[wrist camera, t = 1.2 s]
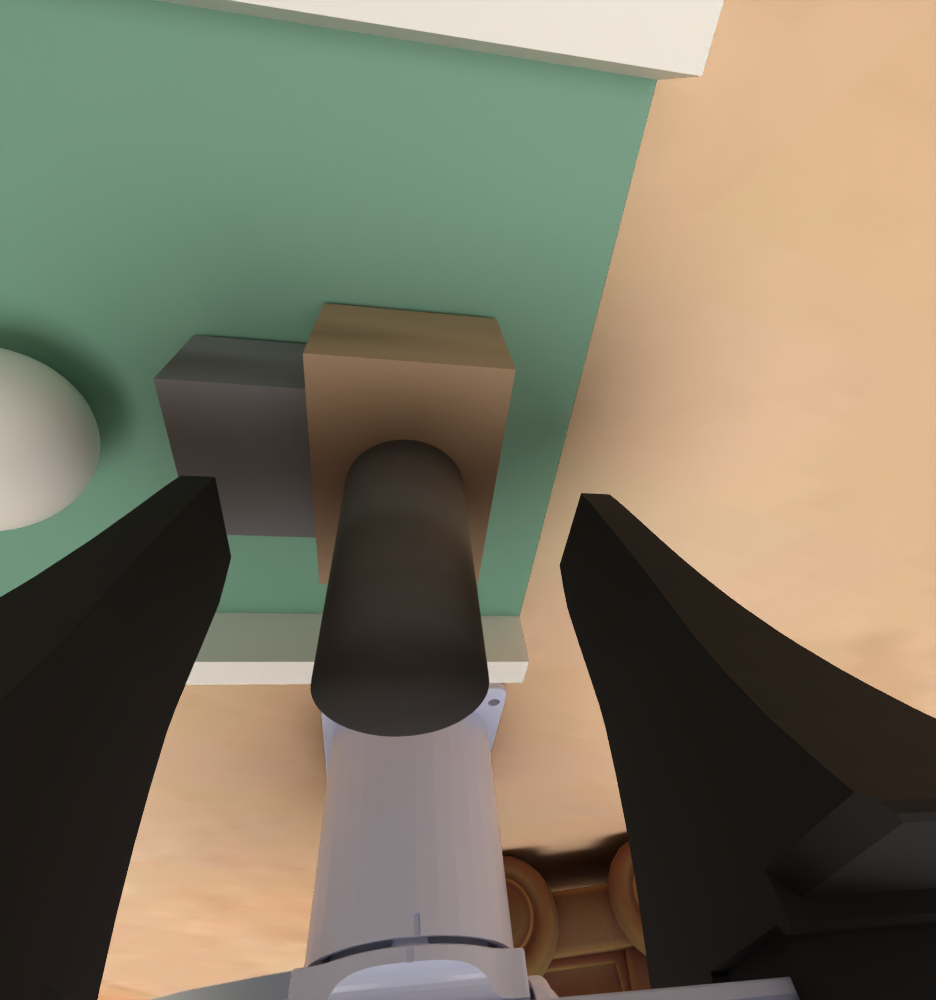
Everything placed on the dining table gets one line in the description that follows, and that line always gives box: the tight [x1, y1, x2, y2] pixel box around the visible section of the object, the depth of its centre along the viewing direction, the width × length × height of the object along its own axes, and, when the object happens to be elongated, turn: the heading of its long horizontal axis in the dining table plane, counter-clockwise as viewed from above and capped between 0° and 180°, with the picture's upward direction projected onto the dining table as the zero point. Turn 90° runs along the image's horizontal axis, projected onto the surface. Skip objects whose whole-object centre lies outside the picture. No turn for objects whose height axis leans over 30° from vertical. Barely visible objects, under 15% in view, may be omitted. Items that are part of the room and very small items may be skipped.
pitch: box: [0, 0, 724, 685], centre depth 13 cm, size 18×26×3 cm
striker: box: [153, 303, 516, 737], centre depth 11 cm, size 6×7×8 cm
